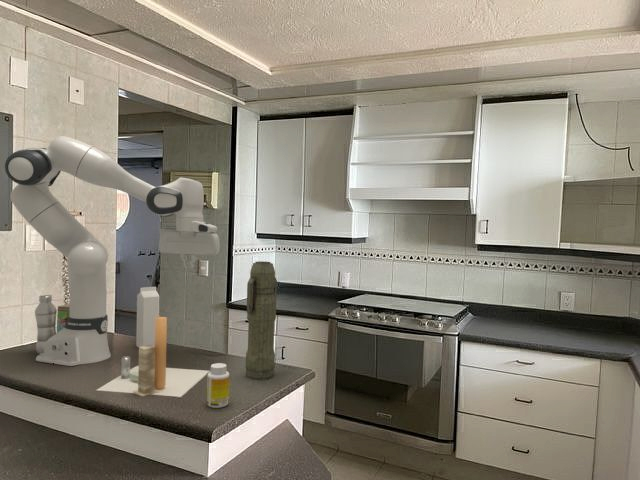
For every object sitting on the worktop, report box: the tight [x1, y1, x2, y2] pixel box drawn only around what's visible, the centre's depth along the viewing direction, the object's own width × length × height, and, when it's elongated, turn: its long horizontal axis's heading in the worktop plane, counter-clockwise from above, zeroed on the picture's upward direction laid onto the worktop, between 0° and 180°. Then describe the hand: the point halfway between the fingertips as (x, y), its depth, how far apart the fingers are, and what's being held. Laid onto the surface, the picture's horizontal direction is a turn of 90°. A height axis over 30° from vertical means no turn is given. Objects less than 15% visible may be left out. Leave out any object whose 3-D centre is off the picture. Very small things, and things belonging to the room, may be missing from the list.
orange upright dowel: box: [129, 316, 168, 388], centre depth 135 cm, size 14×3×19 cm, turn 58°
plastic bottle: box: [34, 294, 58, 355], centre depth 163 cm, size 6×7×20 cm
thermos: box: [245, 260, 278, 381], centre depth 147 cm, size 9×12×35 cm
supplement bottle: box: [206, 362, 230, 409], centre depth 123 cm, size 6×6×10 cm
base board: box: [96, 365, 211, 399], centre depth 139 cm, size 24×22×1 cm
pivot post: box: [120, 355, 131, 379], centre depth 140 cm, size 2×2×6 cm
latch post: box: [132, 345, 160, 398], centre depth 129 cm, size 5×5×13 cm
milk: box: [135, 286, 160, 348], centre depth 175 cm, size 6×6×22 cm
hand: (188, 267), depth 160 cm, fingers closed
